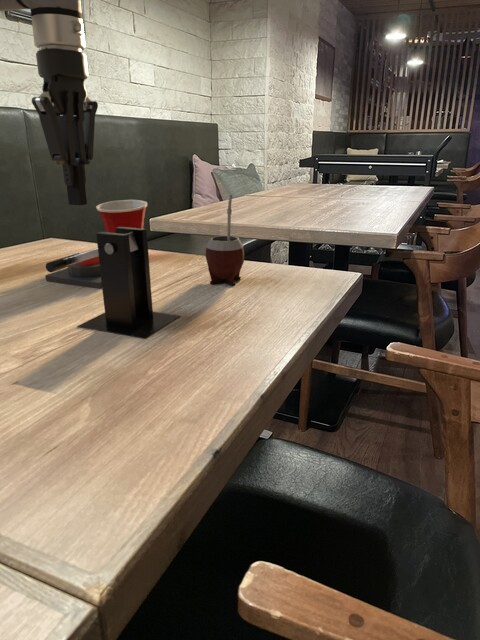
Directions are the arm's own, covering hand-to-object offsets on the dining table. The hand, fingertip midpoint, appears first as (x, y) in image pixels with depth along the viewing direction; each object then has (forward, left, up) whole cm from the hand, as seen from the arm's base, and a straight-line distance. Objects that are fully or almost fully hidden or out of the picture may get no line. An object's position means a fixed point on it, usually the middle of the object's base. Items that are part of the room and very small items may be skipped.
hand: (77, 204), depth 85 cm
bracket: (+21, -15, -14) cm, 30 cm away
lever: (+16, -15, -5) cm, 23 cm away
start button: (+1, +1, -11) cm, 11 cm away
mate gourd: (+23, +12, -15) cm, 29 cm away
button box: (+1, +1, -14) cm, 14 cm away
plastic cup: (-5, +20, -15) cm, 25 cm away
